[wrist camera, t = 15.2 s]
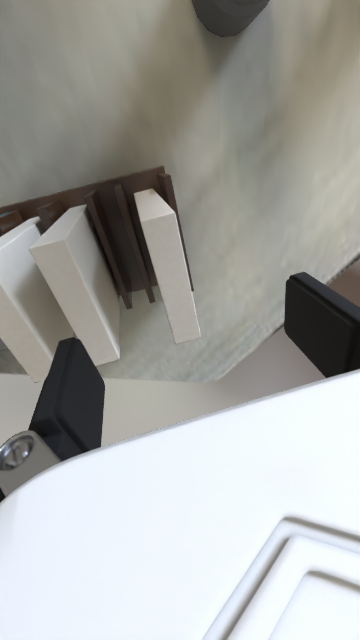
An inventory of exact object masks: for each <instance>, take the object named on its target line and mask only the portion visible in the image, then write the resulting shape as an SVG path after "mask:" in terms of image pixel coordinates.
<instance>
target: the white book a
mask: <svg viewBox="0 0 360 640" xmlns="http://www.w3.org/2000/svg"><path fill="white" fill-rule="evenodd" d="M45 232H46V230H45V228H44V226H43V224H42V222H41V220H40V218H39V216H38V217H34V218H31V219H29V220H27V221H25V222H24V223H22V224H21V225H19V226H17V227H16V228H14V229H12V230H11V231H9V232H8V233H6V234H4V235H3V236H1V237H0V338H1V339H2V341H3V342H4V343H5V345H6V346H7V347H8V348H9V350H10V351H11V352H12V354H13V355H14V356H15V358H16V359H17V360H18V362H19V363H20V364H21V365H22V367H23V368H24V369H25V371H26V372H27V373H28V375H29V376H30V377H31V378H32V380H33V381H34V382H35V383H37V382H41V381H44V380H45V379H46V377H47V376H48V373H49V370H50V367H51V364H52V361H53V358H54V355H55V352H56V349H57V346H58V343H59V341H60V340H64V339H67V338H71V337H73V335H74V331H73V329H72V327H71V325H70V323H69V322H68V320H67V318H66V316H65V314H64V312H63V311H62V309H61V307H60V305H59V303H58V302H57V300H56V298H55V296H54V294H53V293H52V291H51V289H50V287H49V285H48V283H47V282H46V280H45V278H44V276H43V274H42V273H41V271H40V269H39V267H38V265H37V264H36V262H35V260H34V258H33V256H32V255H31V253H30V251H29V247H30V246H32V245H33V244H34V243H35V242H36V241H37V240H38V239H39V238H40V237H41V236H42V235H43V234H44V233H45Z"/></svg>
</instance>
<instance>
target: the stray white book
mask: <svg viewBox="0 0 360 640" xmlns="http://www.w3.org/2000/svg"><path fill="white" fill-rule="evenodd" d="M134 197H135V202H136V206H137V210H138V214H139V218H140V222H141V226H142V229H143V233H144V236H145V240H146V243H147V247H148V250H149V254H150V257H151V261H152V264H153V268H154V271H155V275H156V278H157V282H158V285H159V289H160V292H161V296H162V299H163V303H164V306H165V310H166V313H167V317H168V320H169V324H170V327H171V331H172V334H173V338H174V341H175V344H180V343H183V342H187V341H190V340H194V339H197V338H201V334H200V329H199V324H198V319H197V315H196V310H195V305H194V300H193V295H192V291H191V286H190V281H189V276H188V271H187V267H186V262H185V257H184V252H183V247H182V242H181V238H180V233H179V228H178V223H177V218H176V214H175V212H174V211H173V210H172V209H171V208H170V207H169V206H168V204H167V203H166V202H165V201H164V200H163V199H162V198H161V197H160V196H159V195H158V194H157V193H156V192H155V191H154V190H153V189H148V190H144V191H140V192H136V193H134Z"/></svg>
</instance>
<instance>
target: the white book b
mask: <svg viewBox="0 0 360 640" xmlns="http://www.w3.org/2000/svg"><path fill="white" fill-rule="evenodd" d="M29 251H30V253H31V255H32V256H33V258H34V260H35V262H36V264H37V265H38V267H39V269H40V271H41V273H42V274H43V276H44V278H45V280H46V282H47V283H48V285H49V287H50V289H51V291H52V293H53V294H54V296H55V298H56V300H57V302H58V303H59V305H60V307H61V309H62V311H63V312H64V314H65V316H66V318H67V320H68V322H69V323H70V325H71V327H72V329H73V331H74V332H75V334H76V336H77V338H78V339H80V340H81V341H82V343H83V345H84V347H85V349H86V350H87V352H88V354H89V356H90V358H91V359H92V361H93V363H94V365H95V366H99V365H102V364H105V363H109V362H112V361H115V360H119V359H120V332H119V287H118V285H117V282H116V279H115V277H114V274H113V272H112V269H111V266H110V264H109V261H108V259H107V256H106V253H105V251H104V248H103V246H102V243H101V240H100V238H99V235H98V233H97V230H96V227H95V225H94V222H93V220H92V217H91V214H90V212H89V209H88V207H87V204H85V205H81V206H77V207H73V208H70V209H69V210H67V211H66V212H65V213H64V214H63V215H62V216H61V217H60V218H59V219H58V220H57V221H56V222H55V223H54V224H53V225H52V226H51V227H50V228H49V229H48V230H47V231H46V232H45V233H44V234H43V235H42V236H41V237H40V238H39V239H38V240H37V241H36V242H35V243H34V244H33V245H32V246H30V247H29Z"/></svg>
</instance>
